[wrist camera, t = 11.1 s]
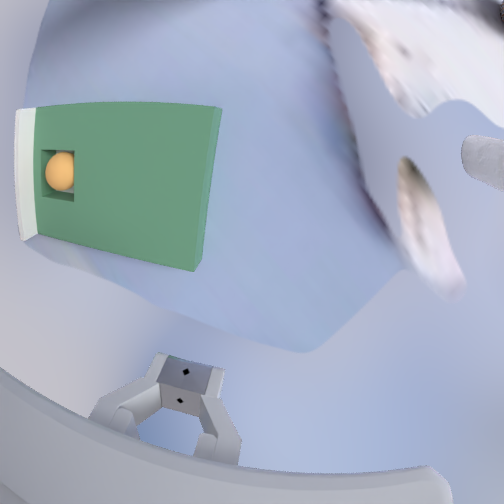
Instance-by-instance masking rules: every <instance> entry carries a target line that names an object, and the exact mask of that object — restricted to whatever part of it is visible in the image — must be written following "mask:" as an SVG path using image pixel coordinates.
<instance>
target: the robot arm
mask: <svg viewBox="0 0 504 504" xmlns="http://www.w3.org/2000/svg"><path fill="white" fill-rule="evenodd" d="M224 373H225V369H223V368H218V367H214V366H210V365H205V364H201V363H197V362H192V361H187V360H184V359H180V358H177V357H174V356H170V355H167V354H163V353H160V352H158V353H157V354H156V355H155V357H154V359H153V361H152V363H151V365H150V367H149V369H148V371H147V373H146V375H145V377H144V378H142V377H140V378H138V379H136V380H134V381H132V382H131V383H129V384H127V385H125V386H123V387H121V388H119V389H117V390H115V391H113V392H111V393H109V394H107V395H105V396H103V397H101V398H100V399H99V400H98V402H97V404H96V405H95V407H94V409H93V411H92V413H91V414H90V416H89V418H88V419H87V418H85V417H82V416H80V415H78V414H76V413H74V412H72V411H71V410H68V409H67V408H65V407H63V406H61V405H59V404H57V403H55V402H54V401H52V400H50V399H48V398H47V397H45V396H43V395H42V394H40V393H38V392H37V391H35V390H33V389H32V388H30V387H29V386H27V385H26V384H24V383H22V382H21V381H19V380H18V379H16V378H15V377H14V376H12V375H11V374H9V373H8V372H6V371H5V370H4V369H2V368H1V367H0V504H453V498H452V492H451V488H450V485H449V483H448V482H447V481H446V480H445V479H444V478H443V477H442V476H441V475H440V474H439V473H438V472H437V471H436V470H434V469H433V468H432V467H430V466H427V465H426V466H417V467H411V468H404V469H397V470H388V471H378V472H363V473H335V474H333V473H331V474H330V473H329V474H328V473H326V474H324V473H297V472H283V471H273V470H264V469H257V468H249V467H243V466H238V460H239V454H240V448H241V442H242V440H241V438H240V436H239V434H238V432H237V430H236V428H235V426H234V424H233V422H232V420H231V418H230V416H229V414H228V412H227V410H226V408H225V406H224V404H223V402H222V400H221V399H220V395H221V390H222V385H223V379H224ZM162 407H164V408H168V409H172V410H176V411H180V412H183V413H186V414H190V415H193V416H197V417H199V419H200V422H201V425H202V427H203V430H204V433H202V434H200V435H199V438H198V442H197V445H196V448H195V452H194V455H193V456H190V455H186V454H182V453H178V452H175V451H171V450H168V449H165V448H161V447H158V446H155V445H152V444H149V443H146V442H143V441H140V438H139V434H138V431H137V428H136V426H137V425H139V424H140V423H141V422H143V421H144V420H146V419H147V418H148V417H150V416H151V415H153V414H154V413H155V412H157V411H158V410H159V409H161V408H162Z"/></svg>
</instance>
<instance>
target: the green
mask: <svg viewBox="0 0 504 504" xmlns="http://www.w3.org/2000/svg"><path fill="white" fill-rule="evenodd" d="M221 114H222V109H221V108H217V107H213V106H203V105H192V104H179V103H160V102H95V103H77V104H65V105H54V106H46V107H38V108H26V109H18V110H16V119H15V136H14V178H15V196H16V208H17V218H18V226H19V233H20V239H21V240H22V241H26V240H28V239H29V238H31V237H33V236H34V235H36V234H42V235H45V236H49V237H53V238H56V239H60V240H64V241H67V242H71V243H75V244H79V245H83V246H87V247H90V248H94V249H98V250H102V251H106V252H110V253H114V254H118V255H122V256H126V257H131V258H135V259H139V260H143V261H147V262H152V263H156V264H160V265H164V266H169V267H173V268H178V269H182V270H186V271H191V272H194V271H195V269H196V268H197V266H198V264H199V263H200V261H201V259H202V252H203V242H204V233H205V225H206V217H207V208H208V201H209V193H210V186H211V178H212V171H213V164H214V157H215V151H216V144H217V138H218V132H219V126H220V120H221ZM60 152H69V153H72V154H73V155H74V186H73V187H71V188H69V189H67V190H63V191H59V190H56V189H54V188H52V187H51V186H50V185H49V184H48V182H47V180H46V176H45V171H46V166H47V164H48V162H49V160H50V159H51V158H52V157H53V156H54V155H56V154H58V153H60Z"/></svg>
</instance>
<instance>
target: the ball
mask: <svg viewBox="0 0 504 504" xmlns="http://www.w3.org/2000/svg"><path fill="white" fill-rule="evenodd" d="M45 176H46V180H47V182H48V184H49V185H50V186H51V187H52V188H54V189H56V190H59V191H63V190H67V189H69V188H71V187H73V186H74V155H73V154H72V153H69V152H60V153H58V154H56V155H54V156H53V157H52V158H51V159H50V160H49V162H48V164H47V166H46V171H45Z"/></svg>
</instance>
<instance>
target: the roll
mask: <svg viewBox="0 0 504 504" xmlns="http://www.w3.org/2000/svg"><path fill="white" fill-rule="evenodd" d="M461 156H462V163H463V167H464V169H465V171H466V172H467V173H468V174H469V175H470V176H471V177H473V178H475V179H477V180H480V181H482V182H484V183H486V184H488V185H490V186H492V187H494V188H496V189H498V190H500V191H502V192H504V140H501V139H496V138H490V137H484V136H478V135H470V136H468V137H467V138H466V139H465V140H464V142H463V145H462V152H461Z"/></svg>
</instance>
